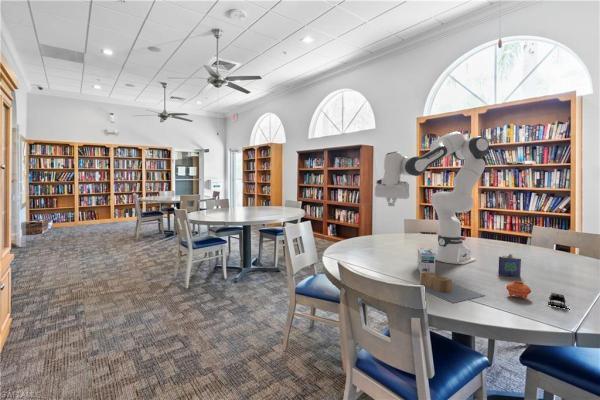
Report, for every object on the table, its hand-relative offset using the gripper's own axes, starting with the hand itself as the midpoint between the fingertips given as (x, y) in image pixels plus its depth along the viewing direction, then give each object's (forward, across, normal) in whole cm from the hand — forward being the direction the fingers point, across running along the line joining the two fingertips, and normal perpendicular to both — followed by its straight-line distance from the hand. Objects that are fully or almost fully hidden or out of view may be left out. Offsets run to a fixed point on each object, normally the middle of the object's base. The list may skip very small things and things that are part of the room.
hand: (391, 206), depth 169 cm
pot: (+31, -62, +4) cm, 70 cm away
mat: (+31, -42, +20) cm, 56 cm away
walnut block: (+28, -31, +18) cm, 46 cm away
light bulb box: (+31, -22, +2) cm, 39 cm away
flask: (+31, -51, -24) cm, 64 cm away
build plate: (+32, -74, +2) cm, 80 cm away
